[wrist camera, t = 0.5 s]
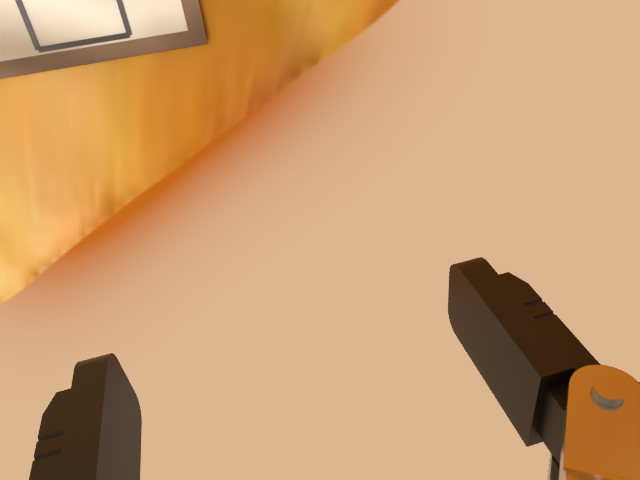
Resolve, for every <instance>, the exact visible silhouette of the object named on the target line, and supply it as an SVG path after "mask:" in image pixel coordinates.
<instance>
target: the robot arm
mask: <svg viewBox="0 0 640 480" xmlns="http://www.w3.org/2000/svg"><path fill="white" fill-rule="evenodd" d="M449 274H450V275H449V298H448V299H449V300H448V314H449V319H450V323H451V326H452V328H453V331H454V333H455V334H456V336H457V338H458V339H459V341H460V342H461V344H462V346H463V347H464V349H465V350H466V352H467V353H468V355H469V356H470V358H471V359H472V361H473V363H474V364H475V366H476V367H477V369H478V371H479V372H480V374H481V375H482V377H483V378H484V380H485V381H486V383H487V385H488V386H489V388H490V390H491V391H492V393H493V394H494V396H495V397H496V399H497V400H498V402H499V403H500V405H501V407H502V408H503V410H504V411H505V413H506V414H507V416H508V418H509V419H510V421H511V423H512V424H513V426H514V427H515V429H516V430H517V432H518V433H519V435H520V437H521V438H522V440H523V441H524V443H525V444H526V446H531V445H534V444H537V443H540V442H544V443H545V445H546V446H547V448H548V449H549V451H550V452H551V455H550V460H549V471H548V480H640V382H638V381H637V380H636V379H634V378H633V377H632V376H630V375H629V374H627V373H626V372H624V371H622V370H619V369H617V368H614V367H610V366H606V365H601V364H600V363H598V361H597V360H596V359H595V358H594V357H593V356H592V355H591V354H590V353H589V352H588V351H587V349H586V348H585V347H584V346H583V345H582V344H581V343H580V341H579V340H578V339H577V338H576V337H575V336H574V335H573V334H572V332H571V331H570V330H569V329H568V328H567V327H566V326H565V324H564V323H563V322H562V321H561V320H560V319H559V318H558V317H557V316H556V315H554V314H553V311H552V310H551V309H550V308H549V307H548V305H547V304H546V303H545V302H542V299H541V297H540V296H539V295H538V294H537V293H536V292H535V291H534V290H533V288H532V287H531V286H530V285H529V284H528V283H526V282H525V281H523V280H521V279H519V278H517V277H516V276H514V275H512V274H511V273H509V272H508V273H504V274H500V275H498V274H497V272H496V271H495V270H494V269H493V268H492V266H491V265H490V264H489V263H488V262H487V261H486V260H485V259H484V258H476V259H472V260H469V261H465V262H461V263H457V264H453V265H451V267H450V272H449ZM141 423H142V422H141V410H140V405H139V402H138V398H137V396H136V393H135V392H134V390H133V388H132V386H131V384H130V382H129V380H128V378H127V376H126V374H125V373H124V371H123V369H122V367H121V365H120V363H119V361H118V359H117V357H116V356H115V355H114V354H112V353H111V354H107V355H103V356H99V357H96V358H91V359H88V360H84V361H81V362H78V363H77V364H76V366H75V368H74V374H73V380H72V387H71V389H67V390H64V391H60V392H57V393H56V394H55V396H54V397H53V399H52V401H51V402H50V404H49V405H48V407H47V409H46V410H45V412H44V413H43V416H42V421H41V425H40V430H39V434H38V440H39V441H38V442H37V444H36V449H35V454H34V458H35V461H33V463H32V469H31V473H30V478H29V480H140V459H141V458H140V457H141Z"/></svg>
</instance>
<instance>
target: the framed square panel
mask: <svg viewBox="0 0 640 480" xmlns="http://www.w3.org/2000/svg"><path fill="white" fill-rule="evenodd" d="M203 44H208V42H207V37H206V33H205V28H204V24H203V19H202V14H201V10H200V5H199V1H198V0H0V79H3V78H9V77H15V76H21V75H27V74H32V73H38V72H44V71H50V70H56V69H62V68H68V67H74V66H80V65H86V64H91V63H97V62H103V61H109V60H115V59H121V58H127V57H133V56H139V55H144V54H150V53H156V52H162V51H168V50H174V49H180V48H186V47H192V46H197V45H203Z"/></svg>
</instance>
